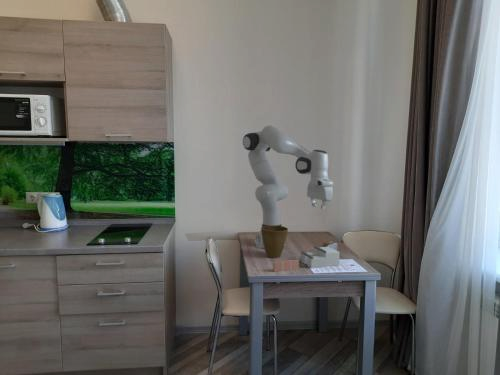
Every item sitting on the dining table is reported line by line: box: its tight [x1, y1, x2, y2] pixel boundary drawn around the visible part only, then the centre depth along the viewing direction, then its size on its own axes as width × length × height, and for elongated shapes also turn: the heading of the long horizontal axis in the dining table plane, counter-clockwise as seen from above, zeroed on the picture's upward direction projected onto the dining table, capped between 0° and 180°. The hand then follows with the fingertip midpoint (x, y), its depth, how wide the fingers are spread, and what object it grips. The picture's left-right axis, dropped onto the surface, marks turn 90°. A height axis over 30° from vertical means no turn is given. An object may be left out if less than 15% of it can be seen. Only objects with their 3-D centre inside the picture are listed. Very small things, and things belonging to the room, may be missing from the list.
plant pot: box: [260, 225, 289, 259], centre depth 187 cm, size 15×15×16 cm
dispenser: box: [300, 245, 341, 269], centre depth 175 cm, size 11×16×8 cm
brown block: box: [272, 259, 300, 273], centre depth 165 cm, size 2×13×4 cm, turn 108°
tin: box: [321, 239, 339, 251], centre depth 189 cm, size 15×3×8 cm, turn 137°
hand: (318, 207), depth 176 cm, fingers open, 8 cm apart
